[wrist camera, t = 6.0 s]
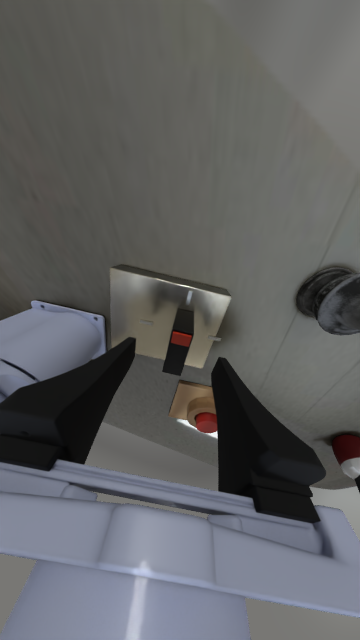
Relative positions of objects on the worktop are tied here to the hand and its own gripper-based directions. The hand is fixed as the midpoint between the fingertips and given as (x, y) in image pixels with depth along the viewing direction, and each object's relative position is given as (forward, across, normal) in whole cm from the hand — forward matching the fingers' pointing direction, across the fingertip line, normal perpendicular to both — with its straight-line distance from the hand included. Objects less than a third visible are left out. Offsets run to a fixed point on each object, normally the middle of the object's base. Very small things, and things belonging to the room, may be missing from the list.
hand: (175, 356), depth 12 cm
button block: (+7, -8, +16) cm, 19 cm away
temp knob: (+4, 0, 0) cm, 4 cm away
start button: (+5, -8, +16) cm, 18 cm away
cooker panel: (+7, +2, 0) cm, 7 cm away
